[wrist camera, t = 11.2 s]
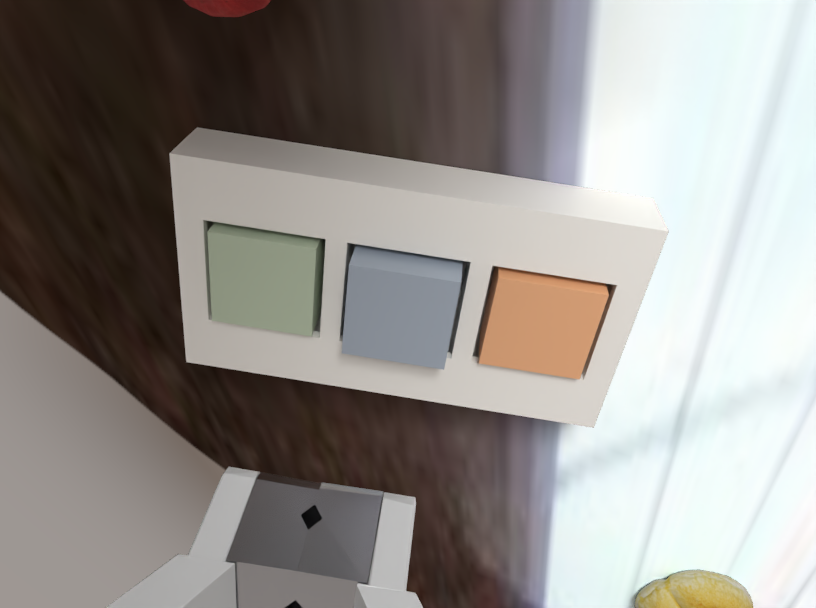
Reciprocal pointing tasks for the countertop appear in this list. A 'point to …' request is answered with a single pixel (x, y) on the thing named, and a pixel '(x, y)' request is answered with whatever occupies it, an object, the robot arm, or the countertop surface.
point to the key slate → (400, 306)
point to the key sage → (265, 278)
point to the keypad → (416, 233)
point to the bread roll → (694, 592)
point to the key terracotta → (540, 322)
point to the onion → (227, 7)
